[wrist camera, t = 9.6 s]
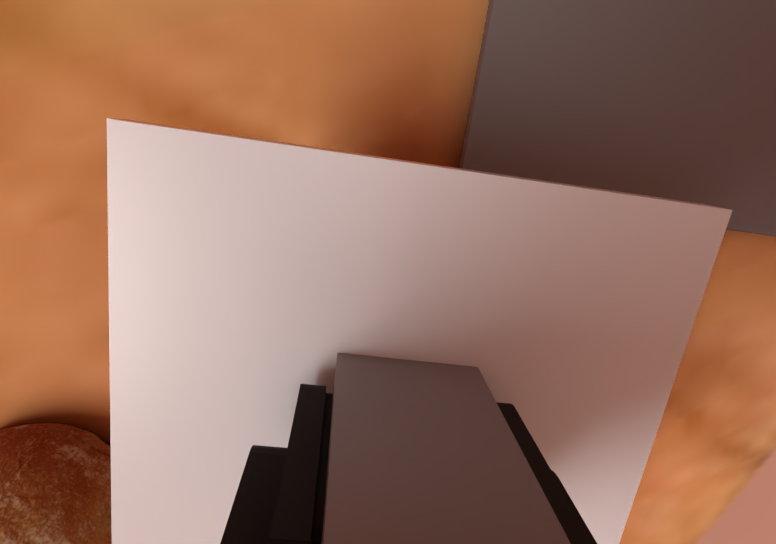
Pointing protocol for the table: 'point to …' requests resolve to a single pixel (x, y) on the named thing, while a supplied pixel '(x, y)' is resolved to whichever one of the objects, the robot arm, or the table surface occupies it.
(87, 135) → the table surface
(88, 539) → the bread roll
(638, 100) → the mat
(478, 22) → the table surface
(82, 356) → the table surface
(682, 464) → the table surface
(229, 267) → the lid
